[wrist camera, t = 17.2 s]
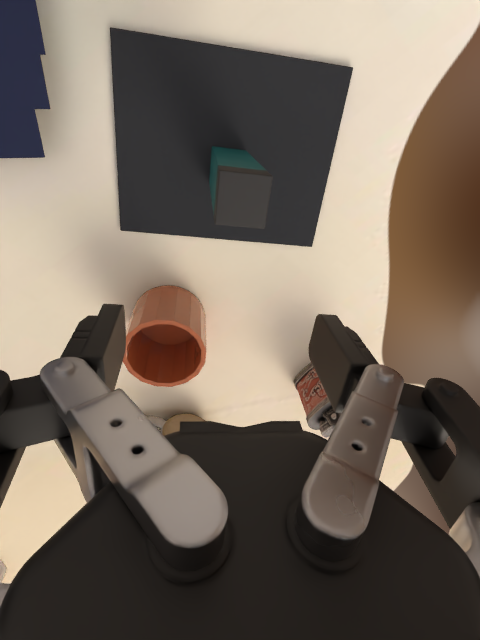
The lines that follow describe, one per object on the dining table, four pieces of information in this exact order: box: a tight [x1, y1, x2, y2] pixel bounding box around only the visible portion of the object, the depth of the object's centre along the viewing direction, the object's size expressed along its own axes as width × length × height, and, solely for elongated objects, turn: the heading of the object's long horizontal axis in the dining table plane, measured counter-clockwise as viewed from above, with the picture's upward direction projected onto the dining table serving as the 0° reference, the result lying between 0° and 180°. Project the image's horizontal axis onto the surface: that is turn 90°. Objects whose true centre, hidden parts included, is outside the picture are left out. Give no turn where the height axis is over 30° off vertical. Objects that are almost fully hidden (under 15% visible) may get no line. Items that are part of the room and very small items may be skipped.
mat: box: [110, 28, 353, 247], centre depth 33 cm, size 20×16×1 cm
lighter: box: [294, 362, 341, 438], centre depth 44 cm, size 8×3×10 cm, turn 134°
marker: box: [209, 146, 273, 229], centre depth 27 cm, size 3×3×14 cm
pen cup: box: [123, 286, 206, 387], centre depth 38 cm, size 8×8×8 cm
